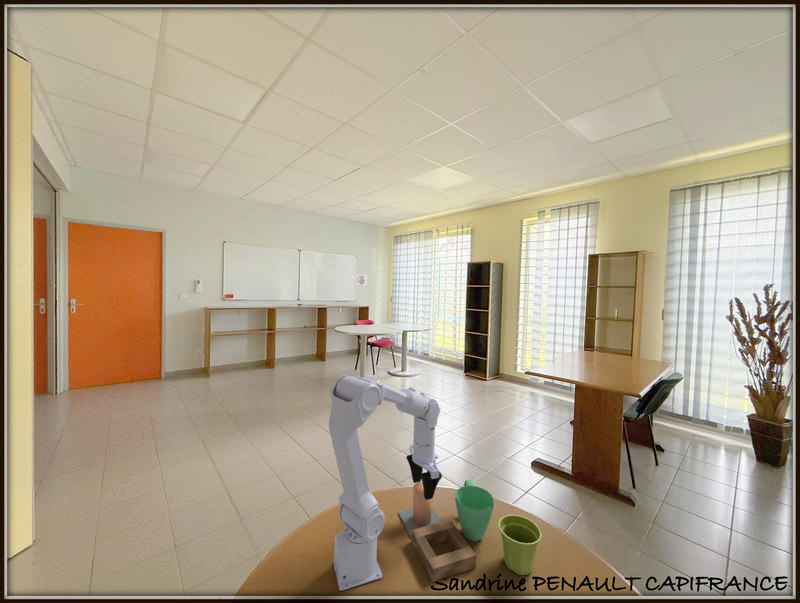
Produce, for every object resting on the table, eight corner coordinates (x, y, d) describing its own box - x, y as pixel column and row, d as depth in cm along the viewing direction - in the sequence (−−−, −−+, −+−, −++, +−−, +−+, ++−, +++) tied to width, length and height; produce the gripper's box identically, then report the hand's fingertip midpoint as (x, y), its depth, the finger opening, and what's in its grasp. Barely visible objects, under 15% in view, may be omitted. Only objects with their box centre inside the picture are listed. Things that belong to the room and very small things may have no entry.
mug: (496, 550, 80) (498, 511, 79) (456, 548, 80) (458, 509, 80) (483, 509, 94) (485, 476, 94) (450, 507, 95) (451, 474, 94)
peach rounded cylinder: (417, 528, 86) (418, 495, 86) (410, 515, 91) (410, 484, 90) (434, 523, 88) (434, 491, 87) (426, 511, 92) (426, 480, 92)
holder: (432, 582, 71) (433, 569, 71) (411, 541, 82) (411, 530, 82) (475, 567, 75) (476, 555, 74) (449, 530, 86) (449, 519, 86)
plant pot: (491, 549, 80) (492, 515, 80) (527, 547, 81) (529, 513, 81) (507, 583, 71) (508, 545, 70) (548, 580, 72) (549, 542, 71)
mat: (412, 539, 83) (412, 538, 82) (398, 513, 92) (398, 512, 92) (446, 529, 86) (447, 528, 86) (430, 505, 95) (430, 504, 95)
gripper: (450, 451, 83) (448, 503, 83) (425, 428, 96) (424, 472, 97) (425, 455, 80) (423, 509, 81) (403, 431, 94) (402, 477, 94)
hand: (422, 489), depth 89 cm, fingers open, 7 cm apart
